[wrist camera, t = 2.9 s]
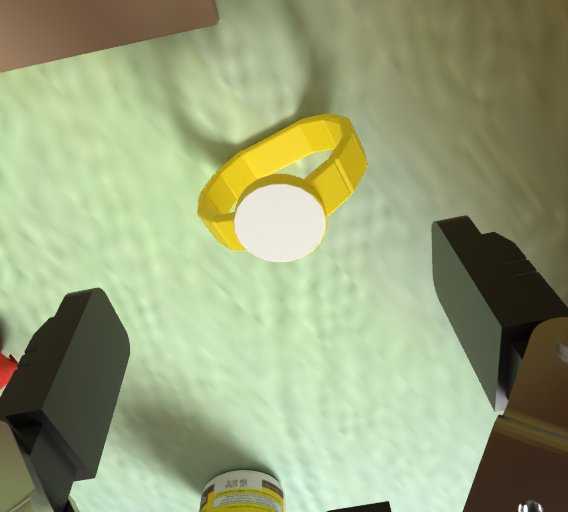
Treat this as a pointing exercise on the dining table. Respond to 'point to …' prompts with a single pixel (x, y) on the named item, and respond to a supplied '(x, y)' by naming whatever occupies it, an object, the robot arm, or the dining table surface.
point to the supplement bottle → (243, 493)
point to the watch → (283, 190)
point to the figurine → (6, 368)
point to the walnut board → (90, 26)
